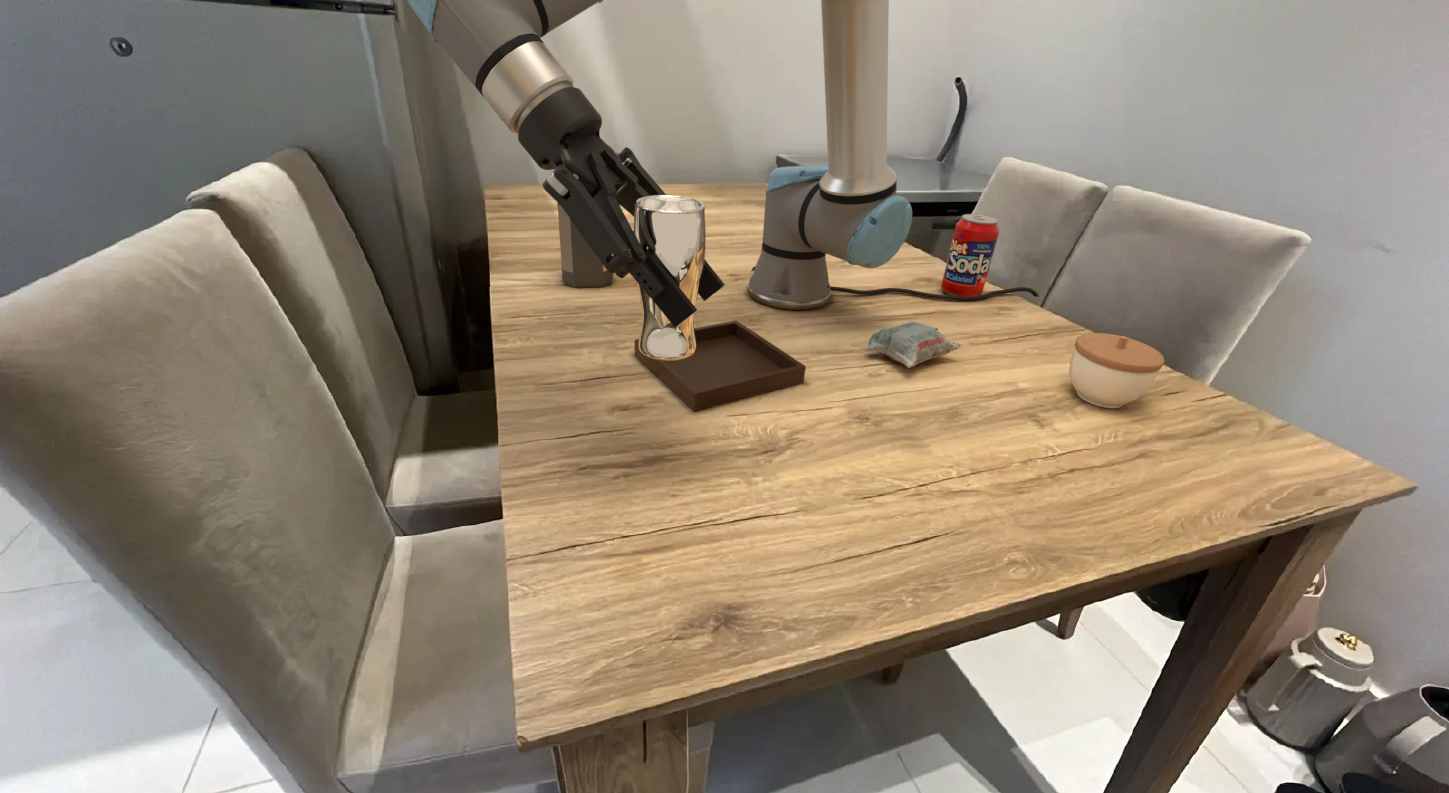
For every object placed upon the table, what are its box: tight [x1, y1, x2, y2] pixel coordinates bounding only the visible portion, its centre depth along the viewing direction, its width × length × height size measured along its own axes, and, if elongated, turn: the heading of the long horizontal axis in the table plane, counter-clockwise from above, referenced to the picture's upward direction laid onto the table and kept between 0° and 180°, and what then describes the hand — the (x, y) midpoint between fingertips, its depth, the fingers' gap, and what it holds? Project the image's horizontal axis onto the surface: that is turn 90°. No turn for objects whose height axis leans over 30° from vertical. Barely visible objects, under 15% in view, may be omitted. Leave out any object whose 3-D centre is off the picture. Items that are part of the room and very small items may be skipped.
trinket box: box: [1068, 332, 1165, 409], centre depth 87 cm, size 11×11×9 cm
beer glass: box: [632, 194, 707, 361], centre depth 62 cm, size 7×7×15 cm
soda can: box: [940, 213, 1000, 297], centre depth 121 cm, size 8×8×15 cm
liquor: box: [556, 193, 614, 288], centre depth 111 cm, size 9×9×30 cm
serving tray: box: [634, 320, 807, 412], centre depth 89 cm, size 18×18×3 cm
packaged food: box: [867, 321, 962, 369], centre depth 96 cm, size 9×12×5 cm
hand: (700, 305), depth 62 cm, fingers closed on beer glass, 7 cm apart
